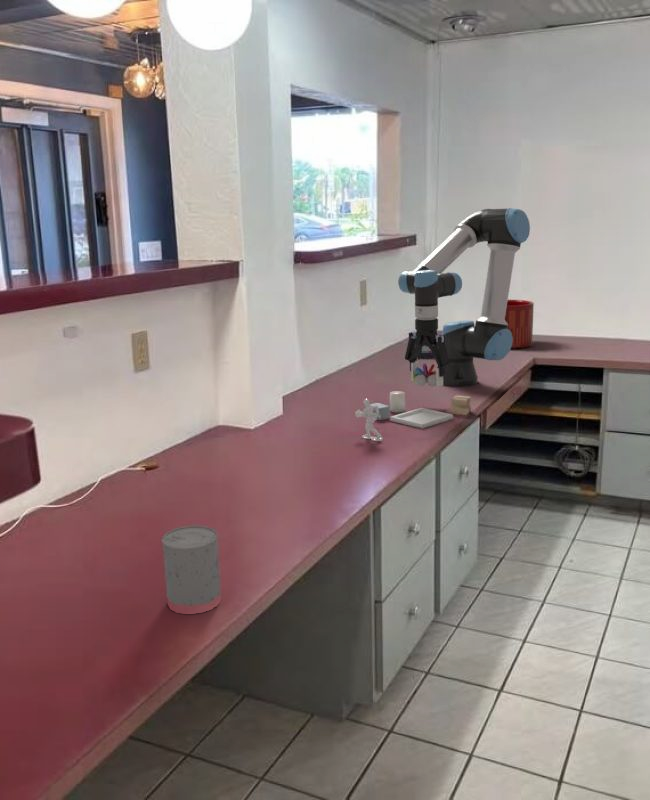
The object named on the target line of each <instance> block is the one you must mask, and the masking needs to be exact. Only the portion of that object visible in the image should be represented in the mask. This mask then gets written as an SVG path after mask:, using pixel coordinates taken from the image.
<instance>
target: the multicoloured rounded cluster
mask: <svg viewBox="0 0 650 800" xmlns="http://www.w3.org/2000/svg"><path fill="white" fill-rule="evenodd" d="M434 368H435V364H434V363H431V365H430V368H429V369H428V366H427V363H422V369H421V368H420V367H419V366H418V367H417V368H416V369H415V370H416V372H417V374H416V375H414V376H413V380H414V381H415V382H414V383H415V385H416V386H418V387H424V386H425V385H426V384H427V385H428V386H430V387H436V370H434Z"/></svg>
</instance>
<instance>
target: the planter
mask: <svg viewBox="0 0 650 800" xmlns="http://www.w3.org/2000/svg"><path fill="white" fill-rule="evenodd" d="M534 305H535V304H534V302H533V301H530V300H524V299H523V300H522V299H508V301H507V308H506V314H505V321H506V322H507V324H508V330H509V331H511V333H512V337H513V342H512V346H511V349H510V350H516V349H515V348H521V349H525V347H526V348H528V347H530V346H532V344H533V333H534V330H533V329H534V328H533V327H534V309H535V308H534Z"/></svg>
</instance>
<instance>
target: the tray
mask: <svg viewBox="0 0 650 800" xmlns="http://www.w3.org/2000/svg"><path fill="white" fill-rule="evenodd" d="M389 419H390V422H393V423H396V424H397V423H398V424H400V425H401V424H402V425H405V426H409V427H412V428H417V429H421V430H422V429H426V428H429V427H431V426H434V425H438V424H442V423H445V422H447V421H451V420H453V419H454V414H451V413H446V412H443V411H439V410H433V409H430V408H425V407H418V408H415V409H413V410H412V409H411V410H409V411H404V412H400V413H398V414H395V415H391V416H389Z"/></svg>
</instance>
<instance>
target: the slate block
mask: <svg viewBox="0 0 650 800" xmlns="http://www.w3.org/2000/svg"><path fill="white" fill-rule="evenodd" d="M369 406H378V409H379V415H381V418H379V417H376V418H377V420H378V421H381V420H386V419H390V405H386V404H383V403H382V402H381V403H379V402H376V403H369ZM373 413H375V414H376V410H375V409H374V410H373Z"/></svg>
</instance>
